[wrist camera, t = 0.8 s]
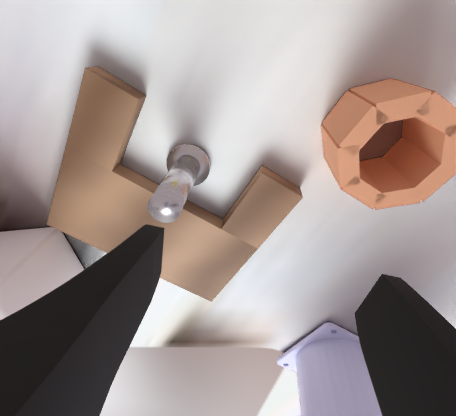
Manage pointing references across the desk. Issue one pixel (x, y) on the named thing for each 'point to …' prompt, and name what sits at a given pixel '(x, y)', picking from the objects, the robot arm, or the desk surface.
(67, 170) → the wooden u-shaped block
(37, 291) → the medicine bottle
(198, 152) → the post
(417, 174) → the hollow octagonal tube
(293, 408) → the desk surface
